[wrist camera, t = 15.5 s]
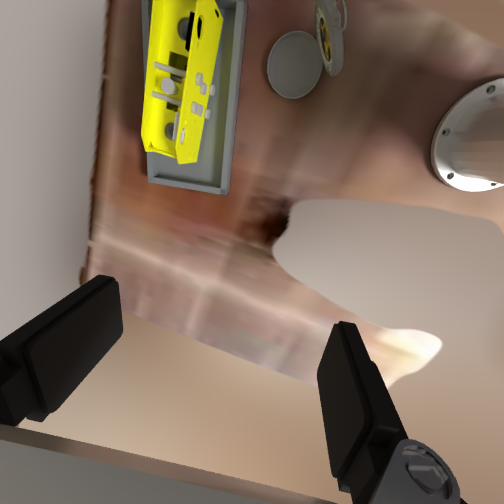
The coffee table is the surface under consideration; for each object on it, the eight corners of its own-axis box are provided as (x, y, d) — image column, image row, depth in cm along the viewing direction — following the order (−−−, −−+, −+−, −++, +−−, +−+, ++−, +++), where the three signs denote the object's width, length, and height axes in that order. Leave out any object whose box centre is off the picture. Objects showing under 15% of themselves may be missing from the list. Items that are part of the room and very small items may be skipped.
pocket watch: (257, 78, 30) (245, 46, 21) (299, 3, 27) (307, -74, 18) (307, 118, 31) (318, 105, 22) (354, 51, 28) (388, 2, 19)
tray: (248, 5, 27) (244, -8, 25) (229, 192, 36) (225, 195, 34) (152, -7, 28) (140, -21, 26) (156, 180, 37) (147, 182, 34)
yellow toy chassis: (201, 162, 34) (178, 166, 27) (164, 150, 34) (130, 150, 27) (228, 24, 28) (208, -24, 20) (182, 8, 28) (144, -45, 20)
